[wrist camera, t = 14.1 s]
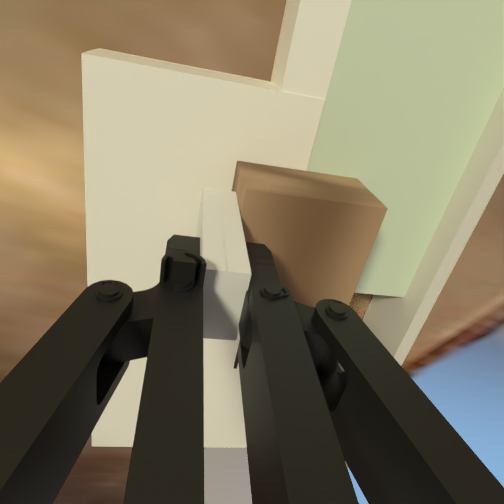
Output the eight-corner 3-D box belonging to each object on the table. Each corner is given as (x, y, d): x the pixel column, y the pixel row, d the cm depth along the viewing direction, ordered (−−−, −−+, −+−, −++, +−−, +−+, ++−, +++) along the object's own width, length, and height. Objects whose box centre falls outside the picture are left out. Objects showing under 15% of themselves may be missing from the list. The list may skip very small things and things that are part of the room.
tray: (101, 412, 30) (86, 470, 26) (95, -651, 10) (25, -1090, 6) (329, 418, 33) (345, 470, 30) (670, -350, 13) (860, -500, 9)
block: (217, 269, 21) (221, 312, 18) (236, 160, 18) (245, 189, 15) (323, 278, 22) (343, 319, 19) (357, 178, 19) (387, 208, 16)
